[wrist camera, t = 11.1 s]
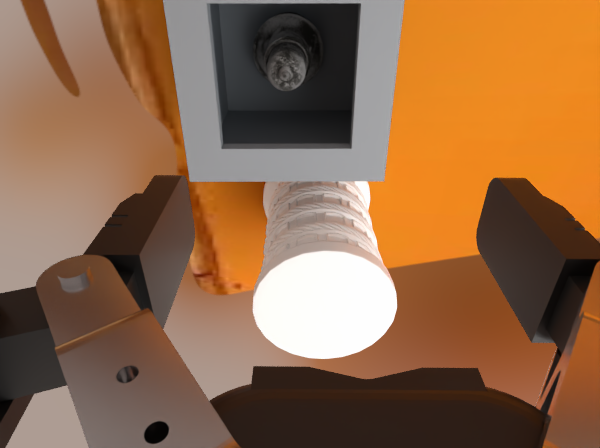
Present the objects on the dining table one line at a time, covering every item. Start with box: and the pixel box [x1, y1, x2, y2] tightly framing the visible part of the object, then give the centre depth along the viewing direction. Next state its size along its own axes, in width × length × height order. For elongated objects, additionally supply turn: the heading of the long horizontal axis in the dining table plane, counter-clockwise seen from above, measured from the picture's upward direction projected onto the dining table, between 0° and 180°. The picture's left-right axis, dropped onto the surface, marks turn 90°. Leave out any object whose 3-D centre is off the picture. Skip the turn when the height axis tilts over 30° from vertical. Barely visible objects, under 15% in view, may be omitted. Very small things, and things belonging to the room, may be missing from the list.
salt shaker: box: [253, 12, 324, 91], centre depth 34 cm, size 6×6×12 cm
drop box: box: [163, 0, 404, 182], centre depth 34 cm, size 14×14×14 cm
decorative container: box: [253, 181, 397, 359], centre depth 40 cm, size 12×12×18 cm
